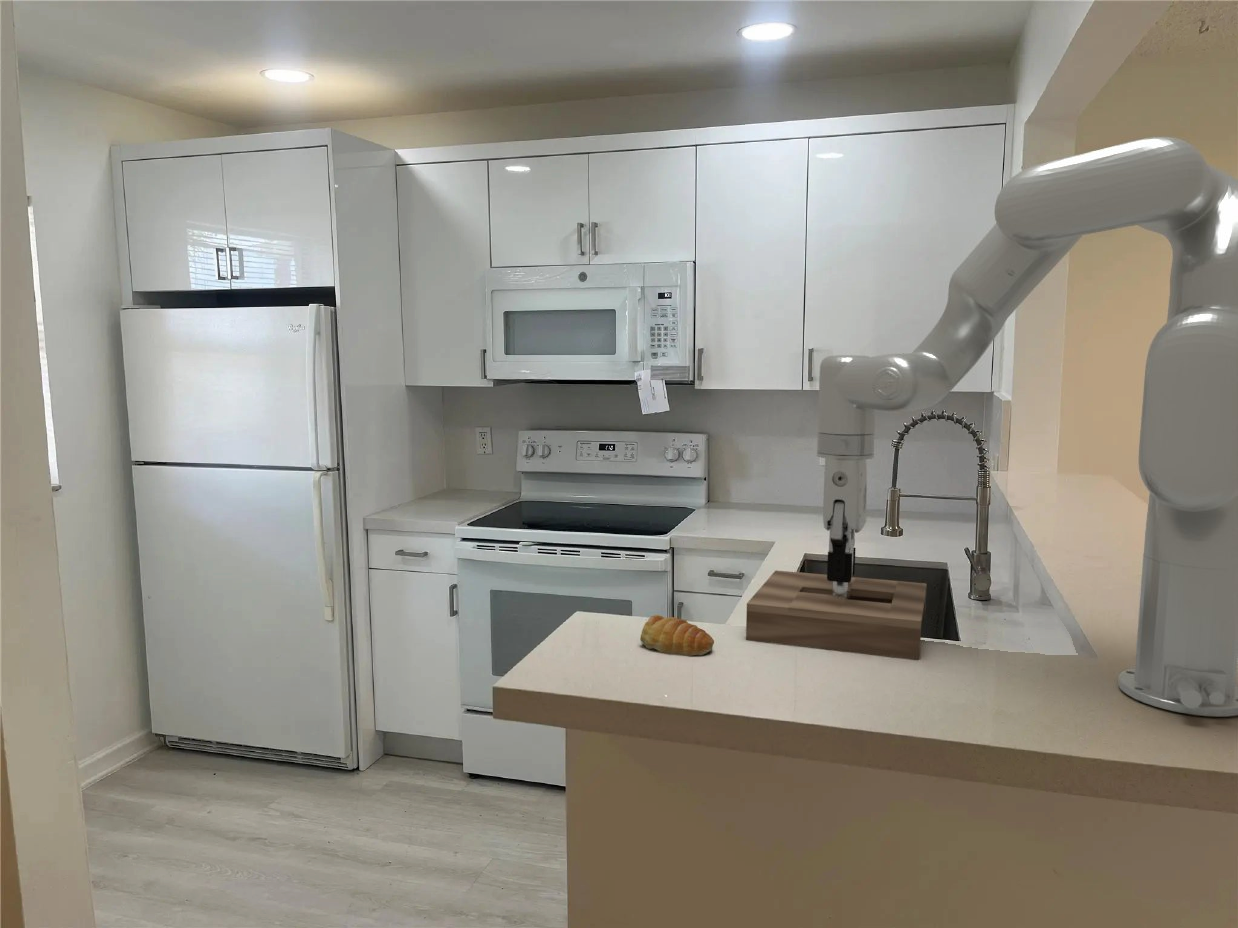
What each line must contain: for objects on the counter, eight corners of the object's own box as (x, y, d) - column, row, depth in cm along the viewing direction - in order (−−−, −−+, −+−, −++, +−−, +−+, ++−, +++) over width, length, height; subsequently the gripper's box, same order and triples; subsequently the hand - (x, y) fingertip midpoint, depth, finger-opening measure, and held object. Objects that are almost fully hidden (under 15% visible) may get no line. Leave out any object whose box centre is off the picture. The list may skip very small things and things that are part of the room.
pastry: (723, 648, 116) (723, 620, 116) (698, 663, 111) (698, 633, 110) (661, 635, 121) (661, 608, 121) (634, 649, 116) (634, 621, 115)
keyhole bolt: (853, 626, 122) (856, 543, 120) (821, 622, 123) (823, 541, 122) (857, 617, 126) (859, 537, 124) (825, 614, 127) (827, 535, 126)
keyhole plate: (919, 659, 111) (921, 621, 111) (745, 639, 119) (746, 603, 119) (925, 616, 130) (926, 583, 129) (774, 601, 138) (775, 570, 137)
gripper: (867, 453, 113) (862, 595, 115) (879, 442, 128) (874, 567, 130) (808, 451, 115) (803, 589, 117) (826, 440, 131) (822, 563, 133)
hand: (840, 576), depth 124 cm, fingers closed on keyhole bolt, 3 cm apart
